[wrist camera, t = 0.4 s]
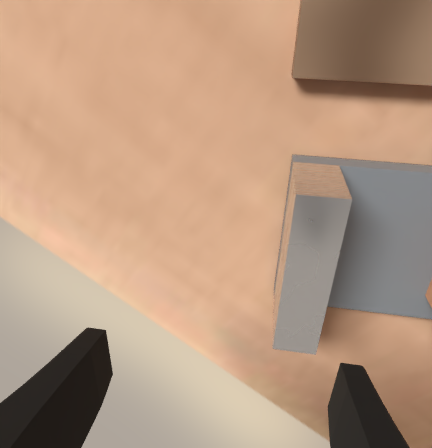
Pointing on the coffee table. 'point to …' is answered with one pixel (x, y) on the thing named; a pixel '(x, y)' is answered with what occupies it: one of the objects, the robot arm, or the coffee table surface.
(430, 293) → the cube
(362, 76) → the broken strip
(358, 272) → the grey tray
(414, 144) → the coffee table surface
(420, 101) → the coffee table surface
